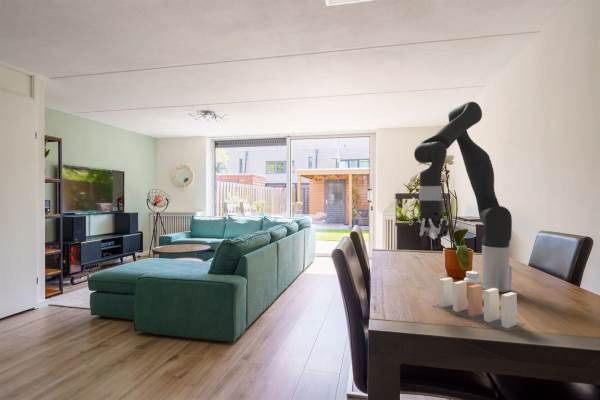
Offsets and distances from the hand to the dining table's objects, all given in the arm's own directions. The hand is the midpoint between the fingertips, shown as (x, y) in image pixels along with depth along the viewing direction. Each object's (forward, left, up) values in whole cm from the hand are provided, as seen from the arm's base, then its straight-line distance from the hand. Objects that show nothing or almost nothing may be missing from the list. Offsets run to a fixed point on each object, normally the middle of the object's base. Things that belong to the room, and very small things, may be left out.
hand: (430, 247), depth 114 cm
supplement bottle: (-16, 0, -20) cm, 25 cm away
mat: (-6, +15, -19) cm, 25 cm away
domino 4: (-8, +19, -19) cm, 28 cm away
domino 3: (-6, +15, -19) cm, 25 cm away
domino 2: (-4, +10, -19) cm, 22 cm away
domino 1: (-2, +6, -19) cm, 20 cm away
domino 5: (-10, +24, -19) cm, 32 cm away
